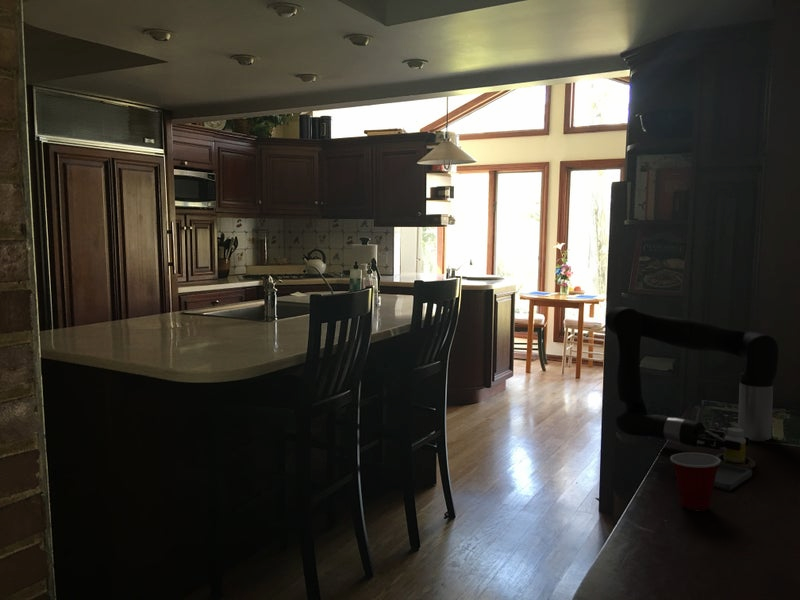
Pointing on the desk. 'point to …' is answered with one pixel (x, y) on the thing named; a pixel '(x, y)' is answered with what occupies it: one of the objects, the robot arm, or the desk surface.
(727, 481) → the tray
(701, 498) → the plastic cup
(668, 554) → the desk surface
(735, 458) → the supplement bottle
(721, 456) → the ring collar
